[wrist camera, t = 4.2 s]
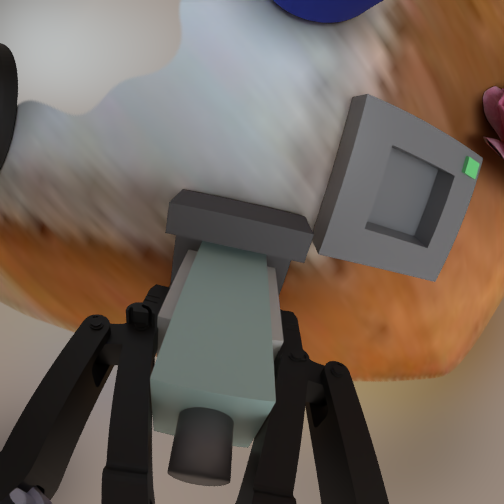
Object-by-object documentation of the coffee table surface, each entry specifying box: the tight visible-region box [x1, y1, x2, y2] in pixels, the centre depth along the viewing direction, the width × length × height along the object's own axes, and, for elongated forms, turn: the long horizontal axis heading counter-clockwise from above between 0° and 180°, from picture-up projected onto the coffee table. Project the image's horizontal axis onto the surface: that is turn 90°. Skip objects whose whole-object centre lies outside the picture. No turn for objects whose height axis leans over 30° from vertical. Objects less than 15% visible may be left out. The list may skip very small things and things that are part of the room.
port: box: [312, 94, 483, 282], centre depth 16 cm, size 10×10×3 cm
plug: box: [150, 241, 276, 486], centre depth 13 cm, size 4×4×14 cm
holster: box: [166, 190, 314, 296], centre depth 18 cm, size 8×9×4 cm
